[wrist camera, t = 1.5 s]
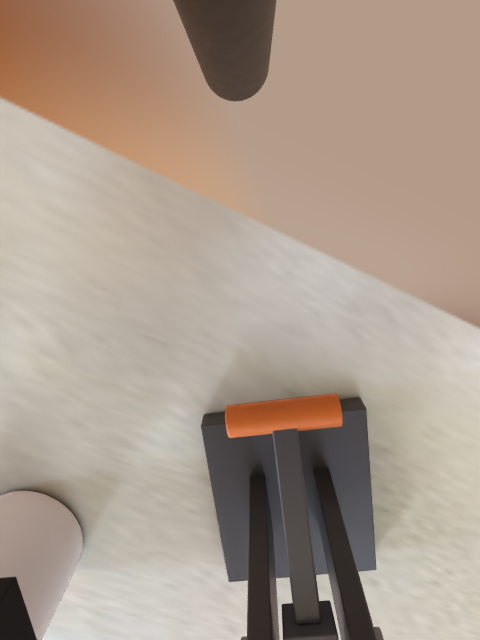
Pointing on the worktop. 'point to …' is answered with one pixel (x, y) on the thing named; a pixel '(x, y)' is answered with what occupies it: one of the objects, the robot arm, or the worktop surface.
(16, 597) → the robot arm
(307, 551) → the switch lever
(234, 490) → the switch base
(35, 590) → the milk bottle
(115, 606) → the worktop surface
